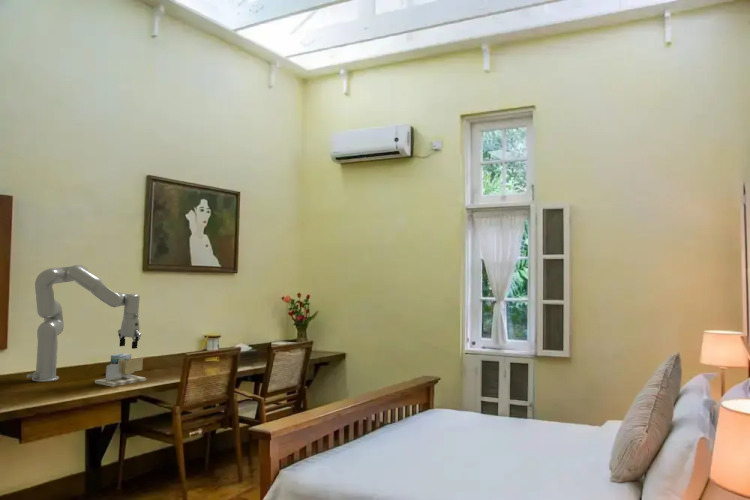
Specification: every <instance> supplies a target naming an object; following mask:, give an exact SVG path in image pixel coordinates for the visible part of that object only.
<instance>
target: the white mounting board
mask: <svg viewBox="0 0 750 500" xmlns="http://www.w3.org/2000/svg"><path fill="white" fill-rule="evenodd" d="M105 379H106V377H105V378H100V379H94V384H97V385H102V386H107V387H112V388H113V387H114V388H115V387H119V386H125V385H129V384H134V383H139V382H144V381H145V382H146V381H147V377H144V376H138V375H134V374H131V378H130V379H119V380H113V381H108V382H105Z"/></svg>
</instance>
